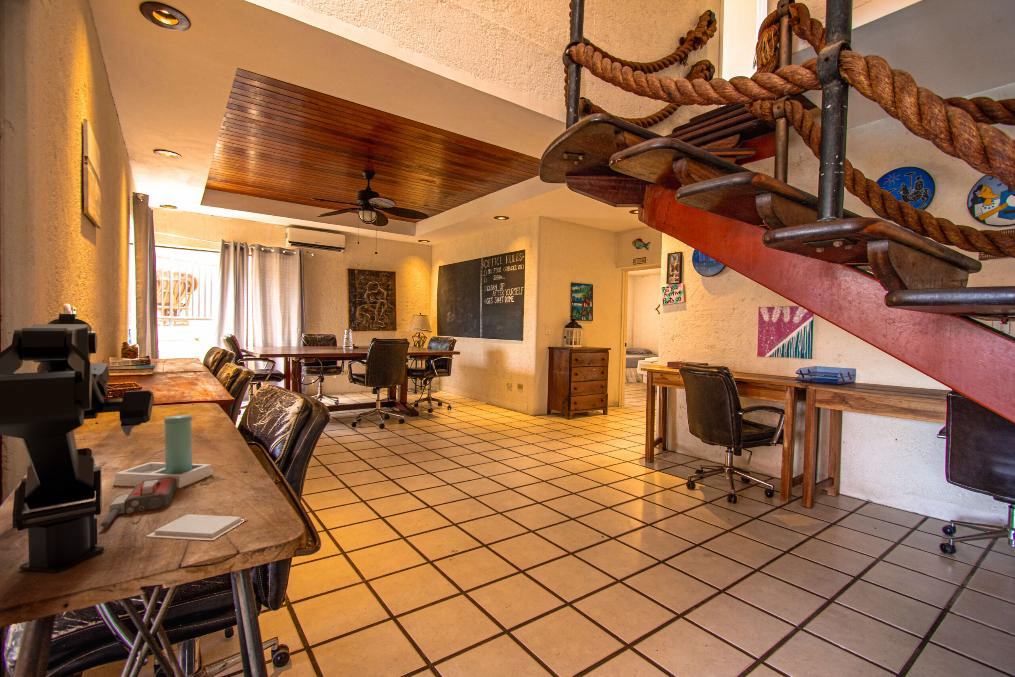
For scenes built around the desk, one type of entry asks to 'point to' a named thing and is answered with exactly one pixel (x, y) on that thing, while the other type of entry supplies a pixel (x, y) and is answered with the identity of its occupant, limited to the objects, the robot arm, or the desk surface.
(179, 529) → the lid
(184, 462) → the green banded cylinder
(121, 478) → the housing
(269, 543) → the desk surface
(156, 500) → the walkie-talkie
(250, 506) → the desk surface
